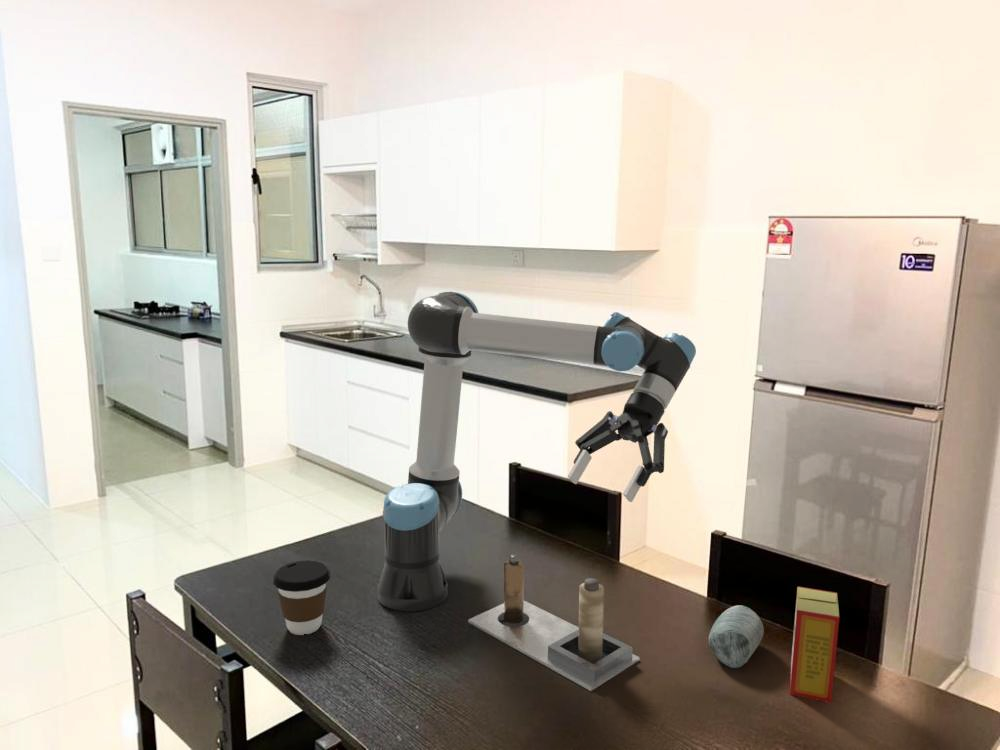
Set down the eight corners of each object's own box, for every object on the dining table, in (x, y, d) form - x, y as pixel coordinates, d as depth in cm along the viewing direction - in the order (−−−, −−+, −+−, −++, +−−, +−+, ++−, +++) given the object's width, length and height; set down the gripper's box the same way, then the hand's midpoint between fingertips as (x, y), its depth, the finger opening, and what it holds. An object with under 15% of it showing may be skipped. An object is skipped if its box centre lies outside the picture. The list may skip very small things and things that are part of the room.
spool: (756, 667, 133) (738, 608, 136) (706, 674, 138) (690, 618, 141) (781, 652, 144) (764, 598, 146) (735, 659, 149) (719, 607, 152)
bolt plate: (468, 622, 154) (467, 556, 151) (517, 599, 163) (517, 537, 161) (590, 691, 131) (593, 615, 129) (639, 660, 141) (642, 589, 138)
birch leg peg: (573, 657, 140) (574, 581, 137) (588, 648, 143) (589, 573, 140) (591, 667, 137) (593, 589, 134) (606, 658, 140) (609, 581, 137)
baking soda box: (831, 703, 128) (839, 615, 125) (789, 694, 131) (797, 608, 128) (829, 673, 137) (837, 590, 134) (790, 665, 139) (797, 584, 136)
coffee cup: (265, 627, 152) (262, 571, 149) (312, 608, 159) (309, 554, 157) (295, 648, 144) (292, 589, 142) (343, 626, 152) (341, 570, 150)
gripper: (709, 423, 147) (660, 516, 140) (607, 401, 165) (559, 482, 157) (696, 400, 142) (644, 495, 135) (592, 380, 160) (542, 463, 153)
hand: (598, 489), depth 146 cm, fingers open, 13 cm apart
